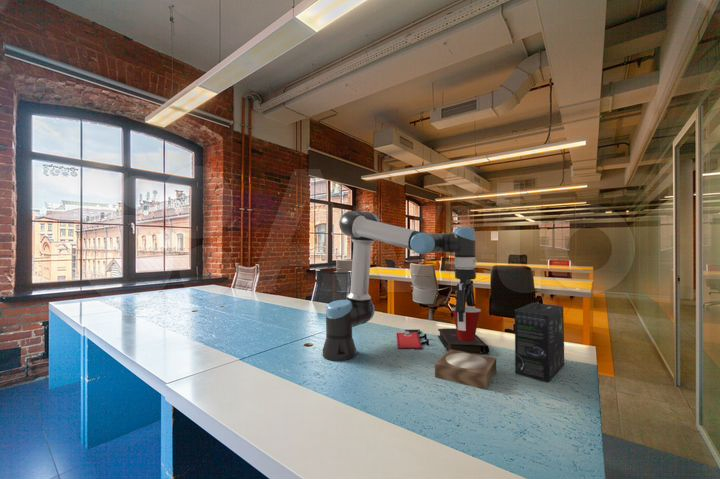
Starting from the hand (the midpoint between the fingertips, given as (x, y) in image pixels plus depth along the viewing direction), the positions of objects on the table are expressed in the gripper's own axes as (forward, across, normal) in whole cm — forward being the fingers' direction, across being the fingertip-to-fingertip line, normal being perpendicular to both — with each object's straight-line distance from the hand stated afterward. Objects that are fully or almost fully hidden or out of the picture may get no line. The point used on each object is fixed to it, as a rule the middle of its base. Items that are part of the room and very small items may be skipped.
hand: (466, 326), depth 117 cm
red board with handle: (+19, +27, +35) cm, 48 cm away
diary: (+19, +32, +11) cm, 39 cm away
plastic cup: (+5, 0, 0) cm, 5 cm away
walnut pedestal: (+18, 0, 0) cm, 18 cm away
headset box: (+18, +20, -23) cm, 35 cm away
